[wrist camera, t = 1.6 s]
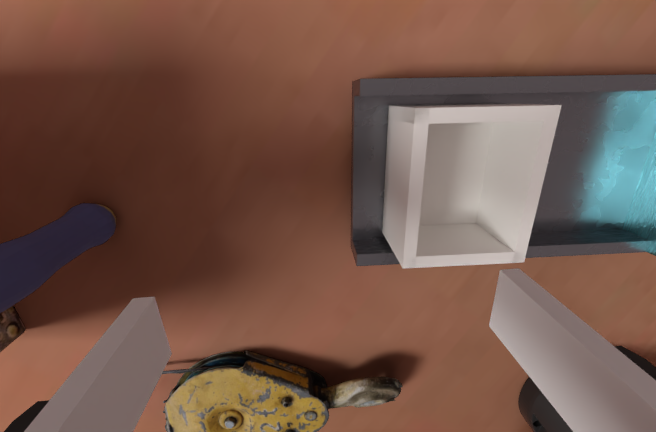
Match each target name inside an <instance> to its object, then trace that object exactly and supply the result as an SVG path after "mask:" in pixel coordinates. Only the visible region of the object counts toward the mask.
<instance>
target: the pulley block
mask: <svg viewBox="0 0 656 432" xmlns="http://www.w3.org/2000/svg"><path fill="white" fill-rule="evenodd" d="M166 373H184V374H183V376H182V377H181V378H180V380H179V381H178V383H177V386H176V387H175V388H174V389H173V390H172V391H171V393H170V395H169V398H168V399H167V400H166V401H165V400H164V402H163V403H165V402H166V405H165V411H163V413H165V414H166V420H167V421H166V425H165V429H166V431H167V432H317V431H319V430H320V429H321V428H322V427H323V426H324V425H325V424H326V422H327V420H328V417H329V412H328V409H330V408H337V407H345V406H355V407H366V406H375V405H380V404H383V403H386V402H389V401H395V400H394V398H396V397H397V396H398V395H399V394H400V392H401V387H403V386H402V384H401V383H400V382H399V380H397V379H395V378H388V377H365V378H358V379H354V380H349V381H346V382H343V383H340V384H337V385H334V386H330V387H327V385H326V382H325V379H324V378H323V377H322V376H321V375H320V374H318V373H316V372H314V371H311V370H309V369H307V368H304V367H301V366H297V365H294V364H290V363H286V362H283V361H279V360H276V359H273V358H270V357H266V356H263V355H260V354H257V353H253V352H250V351H247V350H246V351H244V353H243V352H224V353H219V354H216V355H212V356H210V357H207V358H205V359H203V360H201V361H199V362H198V363H196V364H195V365H193V366H192V367H190V368H189V369H181V370H170V371H163V372H162V374H166Z"/></svg>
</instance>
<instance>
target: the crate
mask: <svg viewBox="0 0 656 432" xmlns="http://www.w3.org/2000/svg"><path fill="white" fill-rule="evenodd" d="M561 106H562V105H542V104H508V103H489V104H439V105H389V110H388V130H387V149H386V169H385V189H384V209H383V229H382V233H383V235H384V236H385V238H386V240H387V242H388V243H389V245H390V247H391V249H392V251H393V252H394V254H395V256H396V258H397V259H398V261H399V263H400V265H401V266H402V268H421V267H441V266H461V265H481V264H501V263H521V262H524V261H525V256H526V252H527V248H528V244H529V240H530V236H531V231H532V227H533V223H534V219H535V215H536V210H537V206H538V202H539V198H540V194H541V190H542V185H543V181H544V177H545V173H546V169H547V164H548V160H549V156H550V152H551V148H552V144H553V139H554V135H555V131H556V127H557V123H558V118H559V114H560V110H561Z"/></svg>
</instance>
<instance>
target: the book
mask: <svg viewBox="0 0 656 432" xmlns="http://www.w3.org/2000/svg"><path fill="white" fill-rule="evenodd" d="M24 331H25V327H24V325H23V323H22V321H21V319H20V318H19V316H18V314H17V312H16V310H15V308H14V307H13V306H11V307H10V308H8V309H6V310H5V311H3V312H1V313H0V352H1V351H2V350H3V349H5V348H6V347H7V346H8V345H9V344H11V343H12V342H13V341H14V340H15V339H17V338H18V337H19V336H20V335H21V334H22V333H24Z"/></svg>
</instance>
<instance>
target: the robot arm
mask: <svg viewBox="0 0 656 432" xmlns="http://www.w3.org/2000/svg"><path fill="white" fill-rule="evenodd" d="M489 326H490V328H491V329H492V330H493V332H494V333H495V334H496V335H497V337H498V338H499V339H500V340H501V342H502V343H503V344H504V345H505V347H506V348H507V349H508V350H509V352H510V353H511V354H512V355H513V357H514V358H515V359H516V360H517V362H518V363H519V364H520V365H521V367H522V368H523V369H524V370H525V372H526V373H527V374H528V376H529V378H528V380H527V381H526V382H525V384H524V386H523V388H522V390H521V392H520V395H519V409H520V412H521V414H522V416H523V417H524V419H525V420H526V422H527V423H528V424H529V426H530V427H531V429H532V430H533V431H534V432H656V367H655V366H653V365H652V364H651V363H650V362H648V361H647V360H646V359H644V358H642V357H641V356H639V355H637V354H635V353H633V352H631V351H630V350H628V349H626V348H624V347H622V346H613V345H612V344H611V343H609V342H608V341H607V340H606V339H604V338H603V337H602V336H601V335H600V334H598V333H597V332H596V331H595V330H593V329H592V328H591V327H590V326H589V325H587V324H586V323H585V322H584V321H582V320H581V319H580V318H579V317H578V316H576V315H575V314H574V313H573V312H571V311H570V310H569V309H568V308H567V307H565V306H564V305H563V304H562V303H560V302H559V301H558V300H557V299H556V298H554V297H553V296H552V295H551V294H550V293H548V292H547V291H546V290H545V289H543V288H542V287H541V286H540V285H539V284H537V283H536V282H535V281H534V280H532V279H531V278H530V277H529V276H528V275H526V274H525V273H524V272H523V271H521V270H520V269H506V270H500V273H499V278H498V283H497V288H496V293H495V298H494V303H493V308H492V313H491V318H490V323H489ZM171 354H172V353H171V349H170V346H169V343H168V339H167V336H166V333H165V329H164V326H163V323H162V319H161V316H160V313H159V310H158V306H157V303H156V300H155V297H143V298H133V299H132V300H131V301H130V303H129V304H128V305H127V306H126V308H125V309H124V310H123V311H122V312H121V314H120V315H119V316H118V317H117V319H116V320H115V321H114V322H113V323H112V325H111V326H110V327H109V328H108V330H107V331H106V332H105V333H104V334H103V336H102V337H101V338H100V339H99V341H98V342H97V343H96V344H95V345H94V347H93V348H92V349H91V350H90V352H89V353H88V354H87V355H86V356H85V358H84V359H83V360H82V361H81V363H80V364H79V365H78V366H77V367H76V369H75V370H74V371H73V372H72V374H71V375H70V376H69V377H68V378H67V380H66V381H65V382H64V383H63V385H62V386H61V387H60V388H59V389H58V391H57V392H56V393H55V394H54V396H53V397H52V398H51V399H50V400H49V401H38V402H36V403H35V404H34V405H33V406H31V407H30V408H29V409H28V410H26V411H25V412H24V413H23V414H21V415H20V416H19V417H18V418H16V419H15V420H14V421H13V422H12V423H11V424H10V425H9V426H8V428H7V429H6V430H5V431H4V432H133V431H134V429H135V427H136V425H137V423H138V421H139V419H140V417H141V415H142V413H143V411H144V409H145V407H146V405H147V403H148V401H149V399H150V396H151V394H152V392H153V390H154V388H155V386H156V384H157V382H158V380H159V378H160V376H161V374H162V372H163V370H164V368H165V366H166V364H167V362H168V360H169V358H170V356H171Z"/></svg>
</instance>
